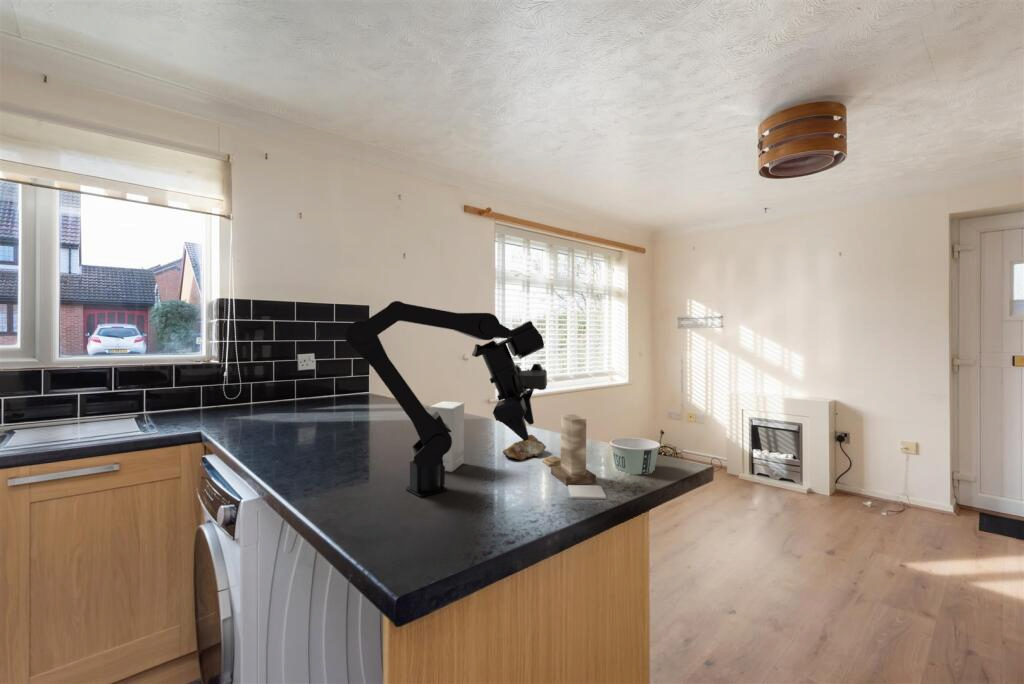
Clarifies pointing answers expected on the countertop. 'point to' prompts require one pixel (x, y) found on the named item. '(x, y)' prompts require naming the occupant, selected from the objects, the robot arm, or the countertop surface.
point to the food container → (634, 455)
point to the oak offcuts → (552, 461)
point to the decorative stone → (525, 448)
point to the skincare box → (452, 431)
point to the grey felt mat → (586, 492)
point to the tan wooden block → (573, 445)
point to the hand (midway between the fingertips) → (529, 431)
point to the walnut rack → (573, 477)
